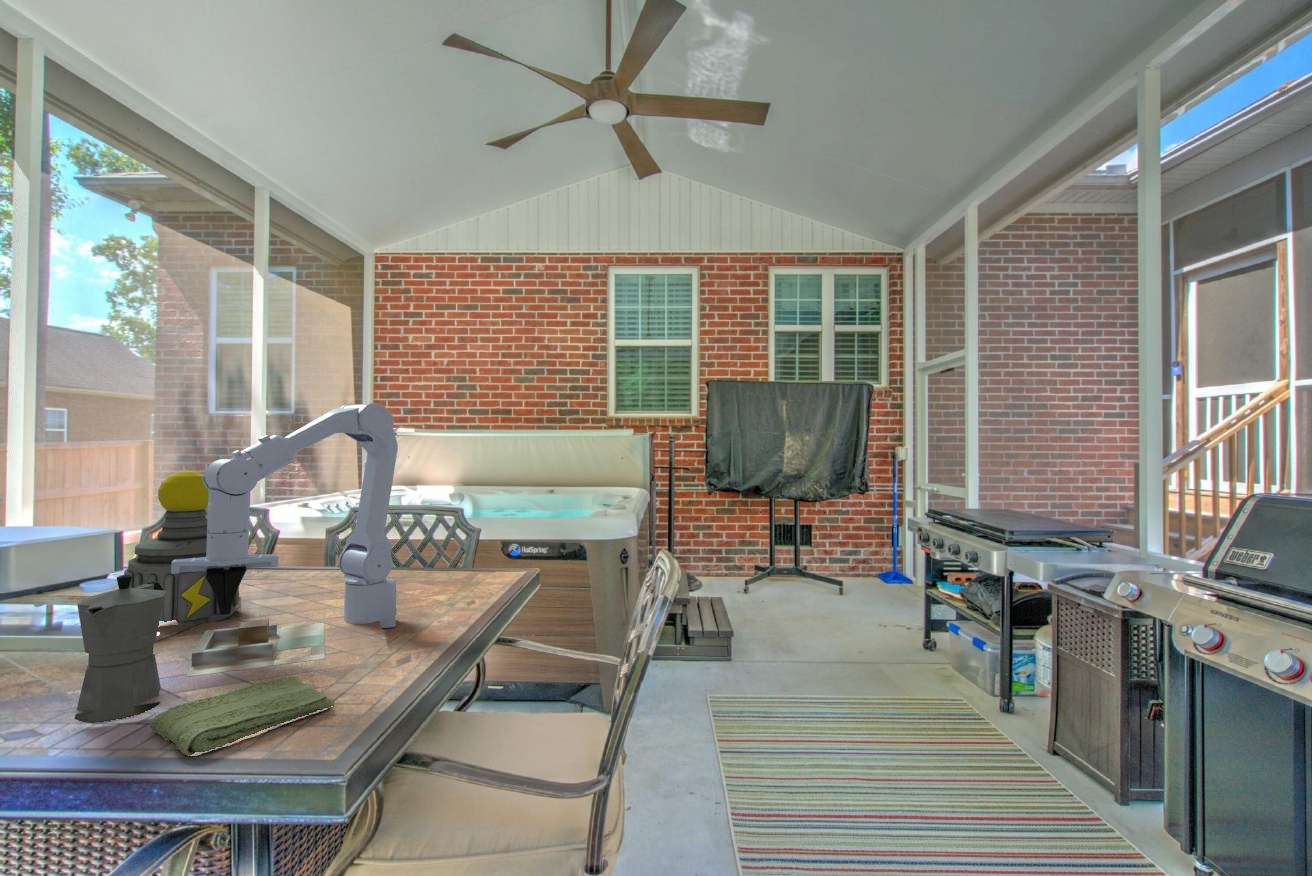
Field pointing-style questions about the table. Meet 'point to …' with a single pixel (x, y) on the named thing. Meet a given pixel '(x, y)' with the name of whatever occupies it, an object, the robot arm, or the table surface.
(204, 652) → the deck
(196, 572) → the decorative lamp
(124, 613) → the coffeepot
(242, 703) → the washcloth
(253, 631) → the walnut block
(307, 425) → the robot arm
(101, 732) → the table surface
